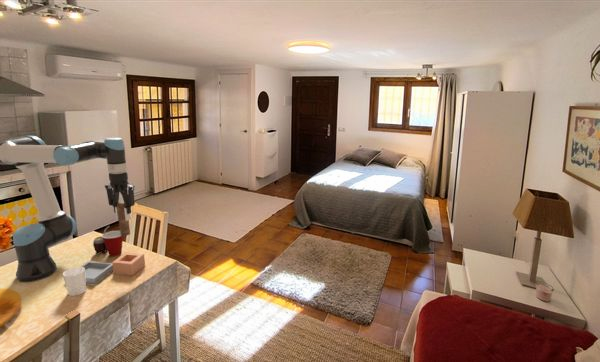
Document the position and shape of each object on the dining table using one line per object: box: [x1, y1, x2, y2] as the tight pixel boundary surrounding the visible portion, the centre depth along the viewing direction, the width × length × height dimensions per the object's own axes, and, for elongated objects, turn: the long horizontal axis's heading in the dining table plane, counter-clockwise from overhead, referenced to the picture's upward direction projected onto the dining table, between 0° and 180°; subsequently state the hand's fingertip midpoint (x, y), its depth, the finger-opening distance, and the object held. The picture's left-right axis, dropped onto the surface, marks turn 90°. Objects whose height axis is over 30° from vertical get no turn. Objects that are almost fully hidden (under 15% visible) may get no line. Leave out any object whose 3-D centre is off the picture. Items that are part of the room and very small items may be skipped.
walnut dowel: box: [117, 201, 131, 237], centre depth 153 cm, size 4×4×16 cm
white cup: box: [62, 266, 87, 297], centre depth 140 cm, size 8×8×10 cm
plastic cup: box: [100, 230, 124, 257], centre depth 173 cm, size 11×11×12 cm
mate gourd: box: [92, 225, 110, 255], centre depth 174 cm, size 8×8×15 cm
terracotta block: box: [111, 252, 146, 276], centre depth 159 cm, size 10×10×6 cm
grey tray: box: [79, 260, 114, 285], centre depth 154 cm, size 14×14×3 cm
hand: (123, 219), depth 153 cm, fingers closed on walnut dowel, 4 cm apart
